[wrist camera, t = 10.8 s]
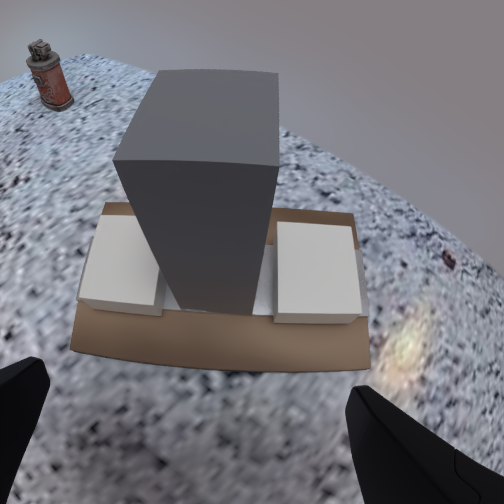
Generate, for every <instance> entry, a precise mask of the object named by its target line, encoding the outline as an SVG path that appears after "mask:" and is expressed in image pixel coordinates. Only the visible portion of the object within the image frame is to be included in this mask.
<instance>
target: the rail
mask: <svg viewBox="0 0 504 504" xmlns="http://www.w3.org/2000/svg"><path fill="white" fill-rule="evenodd" d="M93 239H94V237H92V238H91V242H90V245H89V249H88V252H87V256H86V260H85V263H84V267H83V271H82V275H81V279H80V284H79V288H78V292H77V297H76V300H77V301H79V302H84V301H82V300H81V299H80V298H79V294H80V289H81V285H82V280H83V276H84V272H85V268H86V264H87V260H88V257H89V253H90V249H91V246H92V242H93ZM355 256H356V264H357V272H358V280H359V289H360V298H361V308H362V314H361V315H360V316H358V317H357V318H367V317H369V306H368V297H367V288H366V280H365V272H364V265H363V258H362V251H361V250H355ZM163 311H174V312H187V313H201V314H218V315H236V316H259V317H273V314H274V253H273V245H265V249H264V255H263V260H262V265H261V271H260V276H259V281H258V287H257V292H256V297H255V303H254V308H253V313H252V315H240V314H227V313H215V312H203V311H192V310H182V309H180V307H179V305H178V303H177V302H176V300H175V298H174V296H173V294H172V292H171V290H170V288H169V286H168V284H167V282H166V288H165V296H164V303H163Z"/></svg>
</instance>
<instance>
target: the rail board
mask: <svg viewBox="0 0 504 504" xmlns="http://www.w3.org/2000/svg"><path fill="white" fill-rule="evenodd" d="M101 215H127V216H135V214H134V211H133V209H132V207H131V205H130V203H128V202H105V205H104V208H103V211H102V214H101ZM277 222H293V223H309V224H323V225H337V226H350V227H351V229H352V235H353V242H354V249H355V250H359V246H358V239H357V233H356V227H355V221H354V215H353V214H352V213H340V212H328V211H315V210H301V209H287V208H272V211H271V216H270V222H269V227H268V233H267V238H266V244H265V245H273V239H274V234H275V230H276V225H277ZM70 350H72V351H74V352H79V353H84V354H89V355H95V356H100V357H106V358H112V359H118V360H125V361H132V362H139V363H146V364H154V365H163V366H172V367H182V368H193V369H206V370H221V371H240V372H281V373H294V372H335V371H354V370H367V369H370V368H371V362H370V346H369V332H368V321H367V318H356V319H355V320H353V321H352V322H351V323H348V324H306V323H273V317H259V316H236V315H218V314H201V313H187V312H174V311H162V316H153V315H143V314H133V313H124V312H115V311H107V310H99V309H92V308H91V307H90V306H89V305H87V304H86V303H85V302H79V301H78V305H77V310H76V315H75V321H74V326H73V332H72V338H71V344H70Z"/></svg>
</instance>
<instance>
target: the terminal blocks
mask: <svg viewBox="0 0 504 504" xmlns="http://www.w3.org/2000/svg"><path fill="white" fill-rule="evenodd" d="M273 253H274V314H273V323H306V324H348V323H351V322H352V321H353V320H355V319H356V318H357V317H358V316H360V315H361V314H362V308H361V298H360V289H359V280H358V272H357V264H356V256H355V249H354V242H353V235H352V229H351V227H350V226H337V225H323V224H309V223H293V222H277V225H276V230H275V234H274V239H273ZM165 288H166V280H165V278H164V276H163V274H162V272H161V270H160V268H159V266H158V264H157V262H156V260H155V257H154V255H153V253H152V251H151V249H150V247H149V245H148V243H147V240H146V238H145V236H144V234H143V232H142V229H141V227H140V225H139V223H138V221H137V218H136V216H127V215H101V216H100V219H99V222H98V226H97V229H96V232H95V235H94V239H93V242H92V246H91V249H90V253H89V257H88V260H87V264H86V268H85V272H84V276H83V280H82V285H81V289H80V294H79V298H80V299H81V300H82V301H84V302H85V303H86V304H87V305H89V306H90V307H91V308H92V309H99V310H107V311H115V312H124V313H133V314H143V315H153V316H162V311H163V303H164V296H165Z"/></svg>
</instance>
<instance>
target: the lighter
mask: <svg viewBox="0 0 504 504" xmlns="http://www.w3.org/2000/svg"><path fill="white" fill-rule="evenodd" d="M28 49H29V51H30V53H31V55H32V56H30V57H29V58H28V59H27V60H26V63H27V65H28V67H29V68H30V69H31V72H32V76H33V79H34V82H35V83H36V85H37V87H38V90H39V92H40V95H41V96H40V98H41V101H42V103H43V104H44V106H45V107H47V108H48V109H50V110H53V111H57V112H62V111H65V110H67V109H68V108H70V107H71V106H72V105H73V104H74V99H73V96H72V95H71V94H70V92H69V89H68V87H67V84H66V81H65V78H64V75H63V72H62V69H61V66H60V63H59V62H60V58H59V55H58V54H57V53H55V52H53V51H51V48H50V44H49V43H46V42H43V41H42V39H39V40H37V41H36V42H33V43H31V44H29V45H28Z"/></svg>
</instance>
